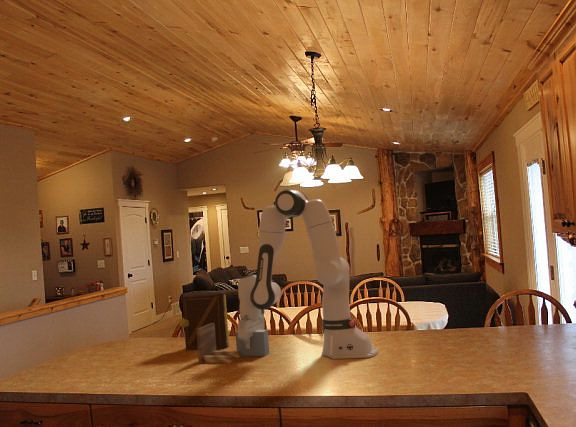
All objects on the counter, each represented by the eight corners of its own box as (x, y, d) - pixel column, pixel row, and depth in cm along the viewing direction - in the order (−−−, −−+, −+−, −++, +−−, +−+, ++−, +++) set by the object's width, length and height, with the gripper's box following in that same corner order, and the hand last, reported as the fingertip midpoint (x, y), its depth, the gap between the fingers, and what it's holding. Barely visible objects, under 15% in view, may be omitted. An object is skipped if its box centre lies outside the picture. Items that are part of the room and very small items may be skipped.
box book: (269, 353, 226) (267, 329, 227) (265, 356, 222) (263, 331, 222) (241, 353, 231) (239, 329, 231) (237, 355, 226) (235, 332, 227)
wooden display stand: (242, 355, 225) (239, 322, 226) (228, 363, 213) (226, 328, 214) (213, 355, 230) (211, 322, 230) (198, 363, 218) (196, 329, 218)
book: (230, 344, 250) (226, 291, 250) (226, 348, 241) (222, 293, 242) (184, 347, 252) (181, 294, 252) (179, 351, 243) (175, 296, 244)
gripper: (246, 317, 216) (249, 351, 216) (266, 309, 235) (268, 340, 235) (232, 317, 218) (235, 351, 218) (252, 309, 237) (255, 340, 237)
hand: (252, 345), depth 227 cm, fingers open, 7 cm apart
